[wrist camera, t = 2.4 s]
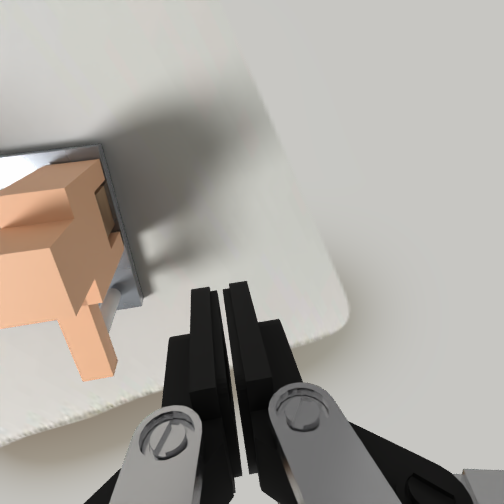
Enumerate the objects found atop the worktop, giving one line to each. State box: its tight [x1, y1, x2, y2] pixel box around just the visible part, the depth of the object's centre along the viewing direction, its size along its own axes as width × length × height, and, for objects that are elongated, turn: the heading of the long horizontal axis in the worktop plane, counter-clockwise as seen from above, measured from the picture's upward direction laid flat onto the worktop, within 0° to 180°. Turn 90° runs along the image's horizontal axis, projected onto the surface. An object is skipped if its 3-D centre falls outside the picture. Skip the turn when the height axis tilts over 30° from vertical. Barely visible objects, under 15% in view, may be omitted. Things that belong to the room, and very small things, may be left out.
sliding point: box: [0, 159, 124, 382], centre depth 18 cm, size 10×3×9 cm, turn 5°
